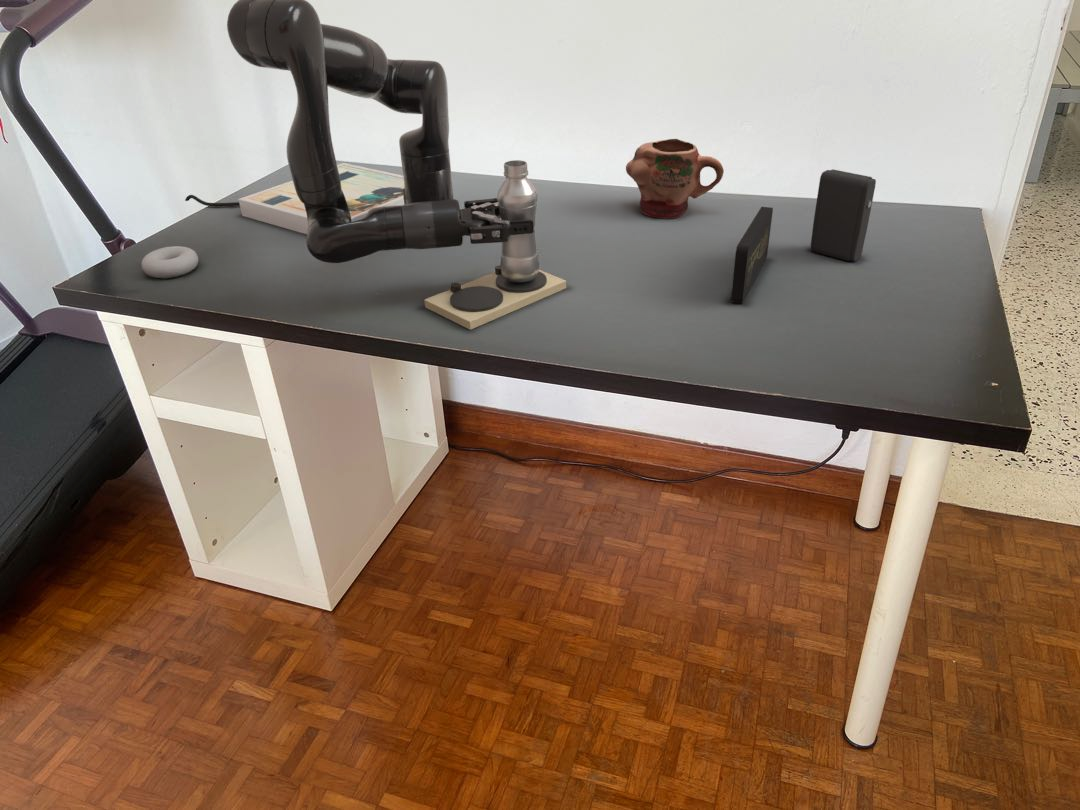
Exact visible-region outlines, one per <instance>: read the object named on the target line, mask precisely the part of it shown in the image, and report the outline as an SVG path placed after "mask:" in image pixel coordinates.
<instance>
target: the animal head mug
mask: <svg viewBox="0 0 1080 810" xmlns="http://www.w3.org/2000/svg"><path fill="white" fill-rule="evenodd" d="M705 168H711V169H713V170H714V172H715V175H716V177H715V179H714V180H713V181H712V182H711V183H709V184H708V185H703V184H701V172H702V170H703V169H705ZM724 170H725V169H724V167H723V165H722V162H721V161H720V160H718V159H717V158H715V157H712V156H707V155H701V154H700V153H699V150H698V148H697V146H696V145H695V144H694V143H691V142H690V141H685V140H681V139H678V138H669V139H661V140H657V141H650V142H645V143H643V144H641V145H640V146H639V147H637V148H636V149H635V151H634V155H633V158H631V160H630V161H628V162H627V163H626V165H625V171H626V172H625V173H626V174H627V175H628V176H629V177H630V178H631V179H632V180H633V181H634V182H635V184H636V186H637V187H638V190H639V192H640V201H639V209H640V212H641V213H643V214H644V215H646V216H649V217H652V218H658V219H677V218H679V217H681V216H683V215H684V214H685V213H686V212H687V211H688V208H689V201H688V200H689V198H692V199H698V197H700V196H702V195H705V194H707V193H708V192H709V191H711V190H712V189H714V188H715V187H716V186H717V185H718V184H719V183H720V182H721V180H722V179H723V176H724V173H725V171H724Z"/></svg>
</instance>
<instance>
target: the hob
mask: <svg viewBox="0 0 1080 810" xmlns="http://www.w3.org/2000/svg"><path fill="white" fill-rule="evenodd" d="M449 287H450V289H447V290H445V291H443V292H440V293H437V294H435V295H432V296H429V297H427V298H425V299H424V308H425V309H427V310H430V311H431V312H433V313H435V314H436V315H437V314H438V315H440V317H441V316H442V317H443V318H445V319H448V320H449V321H451V322H454V323H455V324H458V325H460V326H461V327H464V328H465V329H468V330H469V331H472V330H473V329H475V328H478V327H480V326H482V325H485V324H487V323H491V322H492V321H494V320H497V319H498V318H501V317H503V316H506V315H508V314H510V313H513V312H515V311H517V310H520V309H523V308H524V307H526V306H529V305H532V304H534V303H536V302H538V301H540V300H543V299H545V298H548V297H549V296H552V295H554V294H557V293H559V292H561V291H563V290H566V289H567V280H566V279H563V278H561V277H559V276H556V275H553V274H550V273H549V272H546V271H543V270H541V269H539V270H538V274H537V275H536V277H535V278H534V279H533V280H530V281H527V282H511V281H508V280H506V279H505V278H504V276H503V275H502V273H501V268H500V264H498V265H495V267H494V271H493V272H490V273H489V274H486V275H483V276H481V277H478V278H475V279H473V280H471V281H467V282H466V283H463V284H462V283H461V282H455V281H454V282H451V283H450V285H449Z"/></svg>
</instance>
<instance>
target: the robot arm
mask: <svg viewBox="0 0 1080 810" xmlns="http://www.w3.org/2000/svg"><path fill="white" fill-rule="evenodd" d="M226 29H227V34H228V38H229V41H230V43H231V45H232V47H233V48H234V50H235V52H236V53H237V54H238V55H239V56H240V58H241V59H243V60H244V61H246V62H247V63H249V64H250V65H253V66H255V67H257V68H265V69H272V70H281V71H289V72H290V73H291V76H292V80H293V82H294V86H295V88H296V98H297V103H296V108H295V113H294V116H293V120H292V123H291V126H290V129H289V132H288V135H287V140H286V160H287V164H288V168H289V172H290V175H291V179H292V180H293V183H294V187H295V190H296V193H297V195H298V197H299V199H300V201H301V202H302V203H304V206H305V209H306V213H307V219H308V230H307V234H306V248H307V250H308V252H309V253H310V255H311V256H312V257H313V258H314V259H316V260H318V261H320V262H324V263H327V264H342V263H346V262H351V261H354V260H357V259H360V258H364V257H367V256H371V255H373V254H375V253H378V252H381V251H394V250H395V251H397V250H405V249H407V250H427V249H428V250H429V249H440V248H449V247H450V248H451V247H461V246H462V245H463V241H464V240H463V237H465V236H466V237H467V236H469V239H470V241H469V242H470V244H472V245H478V244H479V245H480V244H495V243H502V242H507V241H508V237H511V235H519V234H531V233H533V232H534V228H535V227H534V223H533V220H532V219H523V220H511V221H506V220H501V216H500V211H499V206H498V200H497V197H493V198H484V199H473V200H465V201H464V202H463V204H464V208H462V209H461V208H460V202H459V200H457V199H455V198H454V192H453V191H454V190H453V189H454V188H453V179H452V177H453V176H452V167H451V157H450V156H451V155H450V145H449V138H450V120H449V119H450V118H449V94H448V93H449V91H448V90H449V89H448V80H447V75H446V72H445V70H444V67H443V65H442V64H441V63H440V62H439V61H436V60H422V59H390V58H388V57H387V54H386V52H385V51H384V50H383V48H382V47H381V46H380V44H379V43H377V42H376V41H374V40H373V39H372V38H370V37H367V36H365V35H363V34H361V33H359V32H356V31H354V30H352V29H348V28H344V27H340V26H335V25H332V24H331V25H330V24H325V23H321V20H320V17H319V14H318V13H317V10H316V9H315V8H314V6H313V5H312V4H311V3H310V2H309V1H308V0H237V1H236V2H235V3H233V5H232V7H231V8H230V9H229V13H228V14H227V21H226ZM328 88H331V89H333V90H336V91H338V92H341V93H344V94H347V95H351V96H354V97H358V98H362V99H370V100H371V99H372V100H374V101H376V102H378V104H381V105H383V106H384V107H386V108H388V109H390V110H391V111H394V112H396V113H401V114H411V115H422V120H421V121H422V122H421V126H420V127H418V128H415V129H412V130H409V131H407V132H405V133H403V134H402V135H401V136H400V137H399V139H398V141H399V142H398V145H399V153H400V154H399V155H400V160H401V170H402V176H403V179H404V187H405V188H404V189H403V197H404V205H402V206H401V205H397V206H384V207H376V208H372V209H370V210H369V211H368V212H367V214H366V216H365V217H364V218H363V219H360V220H356V221H352V220H351V215H350V211H349V207H348V204H347V201H346V199H345V196H344V193H343V191H342V189H341V181H340V176H339V172H338V167H337V165H338V163H337V159H336V154H335V150H334V144H333V140H332V133H331V125H330V124H331V122H330V107H329V89H328ZM191 199H193V200H194V201H196V202H197V203H199V204H201V205H203V206H207V207H240V204H239V201H234V202H207V201H204V200H203V199H200V198H199V197H198V196H196V195H194V194H189V195H187V196H186V197H185V199H184V201H185V202H188V201H190V200H191Z"/></svg>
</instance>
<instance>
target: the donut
mask: <svg viewBox="0 0 1080 810" xmlns="http://www.w3.org/2000/svg"><path fill="white" fill-rule="evenodd" d="M141 260H142V261H141V269H142V271H143V272H144V273H145V274H146V275H148V276H149V277H151V278H155V279H172V278H177V277H182V276H184V275H187V274H188V273H190V272H192V271H193V270H195V268H196V267H197V266H198V263H199V256H198V254H197V252H196V251H195V250H194V249H191V247H187V246H181V245H174V246H166V247H160V248H157V249H155V250H151V252H149V253H147V254H145V255H144V257H143V258H142V259H141Z"/></svg>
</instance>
